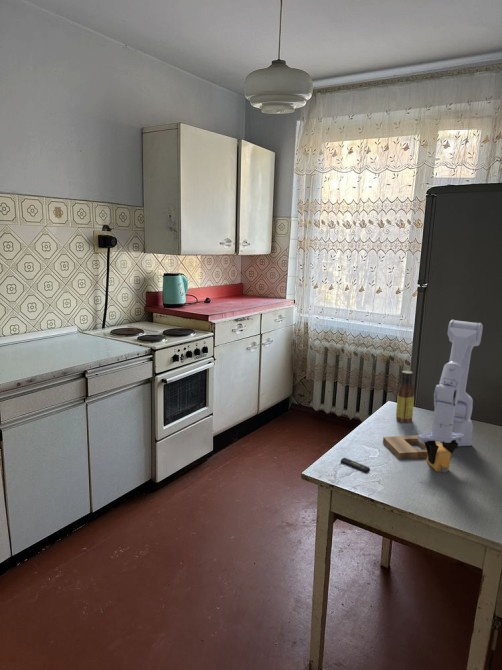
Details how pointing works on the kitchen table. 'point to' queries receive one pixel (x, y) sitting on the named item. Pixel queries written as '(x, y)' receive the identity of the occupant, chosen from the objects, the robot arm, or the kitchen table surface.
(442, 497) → the kitchen table surface
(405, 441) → the pocket board
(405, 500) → the kitchen table surface
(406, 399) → the sauce bottle
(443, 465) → the block
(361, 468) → the usb stick
